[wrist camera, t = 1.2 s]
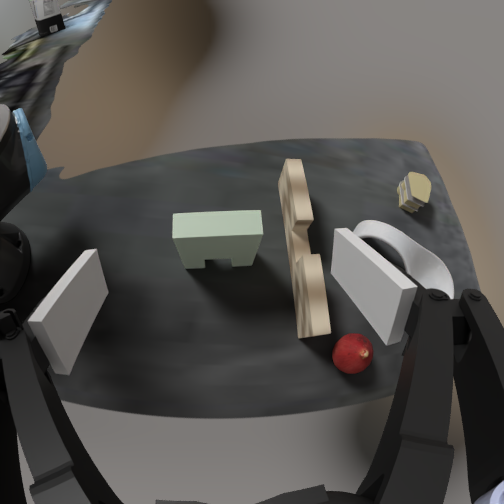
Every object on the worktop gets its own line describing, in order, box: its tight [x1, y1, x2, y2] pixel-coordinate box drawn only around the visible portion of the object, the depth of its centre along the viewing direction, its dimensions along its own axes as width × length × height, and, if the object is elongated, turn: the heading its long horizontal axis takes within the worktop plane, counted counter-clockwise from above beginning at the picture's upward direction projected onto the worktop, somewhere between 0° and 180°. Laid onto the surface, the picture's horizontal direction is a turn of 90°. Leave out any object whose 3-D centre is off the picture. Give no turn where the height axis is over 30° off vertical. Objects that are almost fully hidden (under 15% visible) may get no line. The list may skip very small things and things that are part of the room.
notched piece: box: [173, 210, 263, 269], centre depth 37 cm, size 10×3×12 cm, turn 95°
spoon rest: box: [353, 220, 454, 299], centre depth 42 cm, size 24×12×7 cm, turn 54°
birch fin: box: [278, 159, 331, 338], centre depth 41 cm, size 26×2×7 cm, turn 5°
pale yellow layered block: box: [397, 172, 431, 213], centre depth 49 cm, size 10×9×6 cm
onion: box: [332, 333, 373, 374], centre depth 36 cm, size 6×6×8 cm
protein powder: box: [29, 0, 65, 36], centre depth 55 cm, size 10×24×30 cm, turn 68°
